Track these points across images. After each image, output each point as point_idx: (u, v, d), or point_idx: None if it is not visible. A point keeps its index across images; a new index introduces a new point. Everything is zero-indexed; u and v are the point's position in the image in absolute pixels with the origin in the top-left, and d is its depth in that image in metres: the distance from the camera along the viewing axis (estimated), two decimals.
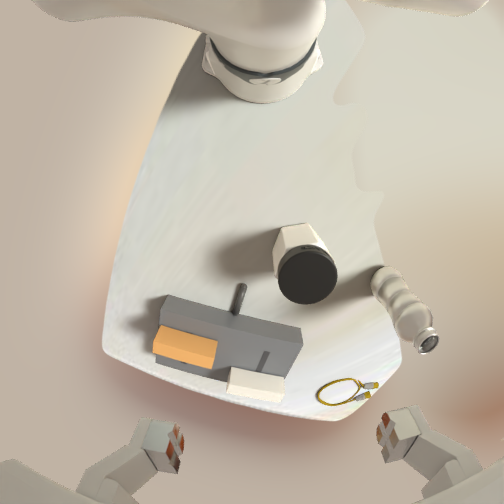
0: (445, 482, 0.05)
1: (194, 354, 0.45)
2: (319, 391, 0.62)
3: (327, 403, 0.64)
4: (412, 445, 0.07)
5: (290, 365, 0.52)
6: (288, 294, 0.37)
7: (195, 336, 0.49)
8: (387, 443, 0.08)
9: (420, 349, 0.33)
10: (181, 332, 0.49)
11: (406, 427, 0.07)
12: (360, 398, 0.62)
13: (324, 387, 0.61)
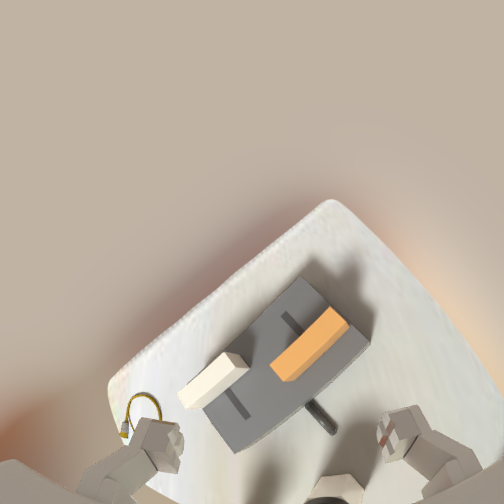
0: (445, 482, 0.05)
1: (301, 361, 0.33)
2: (156, 405, 0.49)
3: None
4: (412, 445, 0.07)
5: (214, 424, 0.38)
6: None
7: (314, 361, 0.36)
8: (387, 443, 0.08)
9: None
10: (328, 347, 0.36)
11: (406, 427, 0.07)
12: (124, 427, 0.49)
13: (159, 413, 0.48)
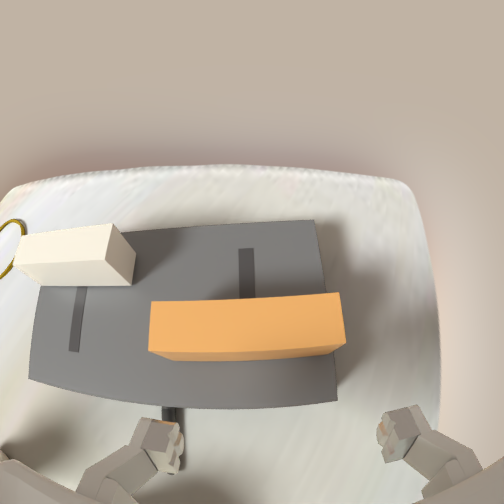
0: (445, 482, 0.05)
1: (207, 344, 0.14)
2: None
3: (15, 222, 0.33)
4: (412, 445, 0.07)
5: (36, 319, 0.20)
6: None
7: (229, 360, 0.18)
8: (387, 443, 0.08)
9: None
10: (270, 358, 0.18)
11: (406, 427, 0.07)
12: None
13: None
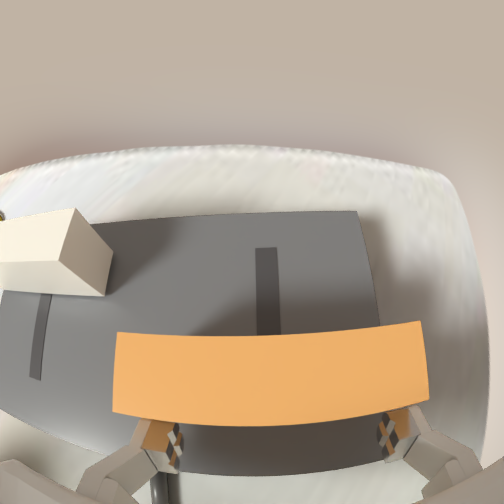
0: (445, 482, 0.05)
1: (208, 412, 0.08)
2: None
3: None
4: (412, 445, 0.07)
5: None
6: None
7: None
8: (387, 443, 0.08)
9: None
10: None
11: (406, 427, 0.07)
12: None
13: None
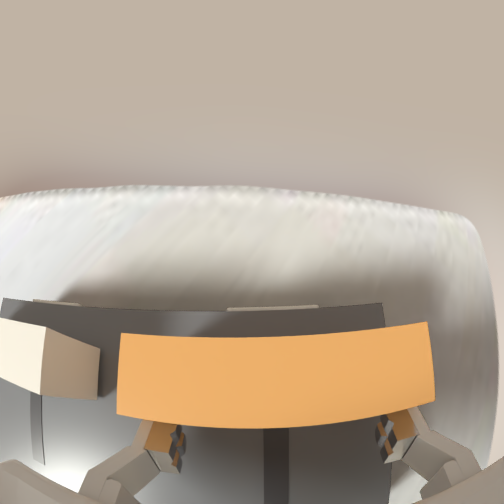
0: (443, 483, 0.05)
1: (214, 414, 0.07)
2: None
3: None
4: (410, 446, 0.07)
5: None
6: None
7: None
8: (386, 443, 0.08)
9: None
10: None
11: (405, 427, 0.07)
12: None
13: None
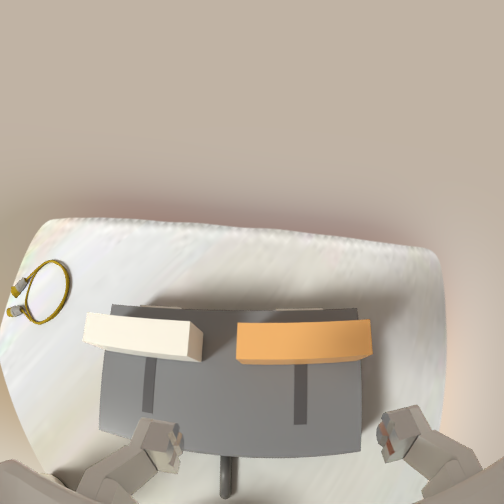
0: (445, 482, 0.05)
1: (280, 354, 0.21)
2: (67, 290, 0.35)
3: (55, 263, 0.38)
4: (412, 445, 0.07)
5: (103, 380, 0.25)
6: None
7: (286, 364, 0.24)
8: (387, 443, 0.08)
9: None
10: (316, 363, 0.24)
11: (406, 427, 0.07)
12: (20, 284, 0.36)
13: (62, 301, 0.34)
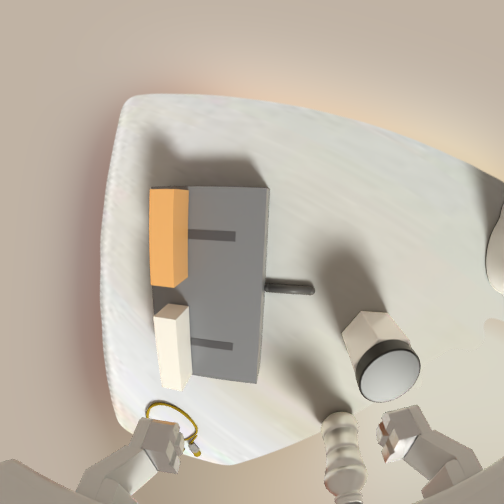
0: (445, 482, 0.05)
1: (169, 257, 0.30)
2: (164, 404, 0.46)
3: (148, 415, 0.48)
4: (412, 445, 0.07)
5: (215, 376, 0.38)
6: (372, 366, 0.27)
7: (186, 245, 0.34)
8: (387, 443, 0.08)
9: (336, 502, 0.24)
10: (186, 223, 0.34)
11: (406, 427, 0.07)
12: None
13: (173, 407, 0.46)
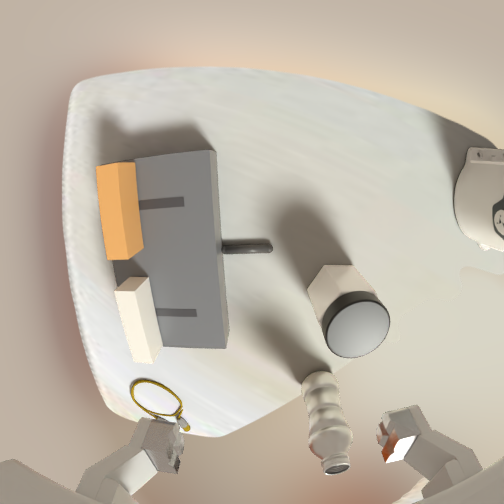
0: (445, 482, 0.05)
1: (120, 229, 0.29)
2: (145, 381, 0.47)
3: (133, 394, 0.49)
4: (411, 446, 0.07)
5: (185, 345, 0.39)
6: (336, 320, 0.29)
7: (138, 216, 0.33)
8: (387, 443, 0.08)
9: None
10: (136, 195, 0.32)
11: (406, 427, 0.07)
12: None
13: (154, 383, 0.47)
